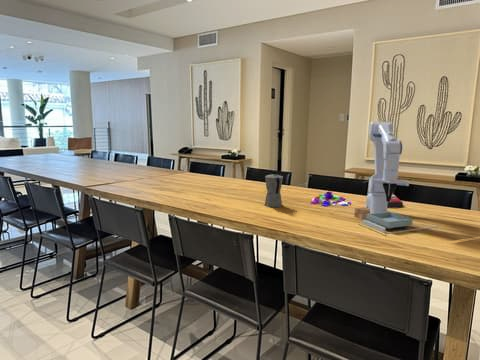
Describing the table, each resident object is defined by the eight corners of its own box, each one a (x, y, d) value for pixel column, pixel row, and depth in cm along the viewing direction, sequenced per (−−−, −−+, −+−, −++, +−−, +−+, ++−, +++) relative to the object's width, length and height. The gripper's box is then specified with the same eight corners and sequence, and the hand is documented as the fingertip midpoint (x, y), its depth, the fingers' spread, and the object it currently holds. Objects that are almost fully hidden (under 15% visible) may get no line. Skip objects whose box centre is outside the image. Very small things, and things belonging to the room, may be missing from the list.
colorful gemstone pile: (338, 210, 170) (338, 201, 169) (303, 203, 184) (303, 195, 183) (359, 201, 188) (360, 193, 187) (326, 196, 202) (326, 188, 201)
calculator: (380, 200, 174) (373, 193, 188) (379, 208, 175) (373, 200, 189) (403, 201, 172) (394, 193, 187) (402, 209, 173) (394, 201, 188)
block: (354, 218, 154) (355, 207, 153) (362, 217, 155) (363, 206, 154) (361, 221, 150) (361, 210, 149) (369, 220, 151) (370, 209, 150)
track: (358, 224, 144) (358, 218, 144) (408, 218, 154) (408, 212, 154) (386, 236, 130) (387, 229, 129) (440, 228, 140) (440, 222, 139)
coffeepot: (261, 202, 182) (262, 169, 179) (278, 202, 184) (279, 168, 180) (268, 209, 167) (269, 173, 164) (287, 209, 169) (288, 173, 165)
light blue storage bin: (365, 223, 143) (366, 213, 143) (388, 220, 148) (389, 211, 147) (387, 232, 132) (388, 221, 131) (411, 228, 136) (412, 218, 136)
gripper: (372, 169, 143) (369, 201, 145) (410, 172, 138) (407, 204, 140) (372, 167, 150) (370, 198, 152) (409, 169, 144) (406, 201, 147)
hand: (388, 201), depth 147 cm, fingers closed
